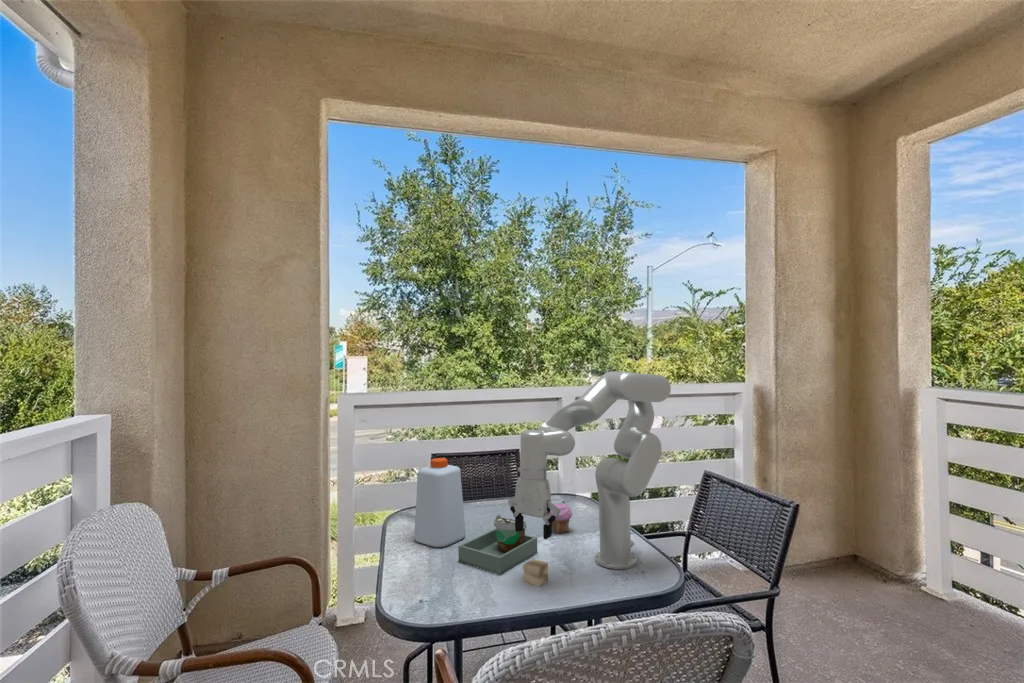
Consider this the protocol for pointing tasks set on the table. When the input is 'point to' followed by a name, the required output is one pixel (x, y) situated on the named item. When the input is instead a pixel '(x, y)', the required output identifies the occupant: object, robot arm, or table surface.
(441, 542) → the plastic bottle
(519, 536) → the food container
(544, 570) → the maple block
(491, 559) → the tote
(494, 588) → the table surface
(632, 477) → the robot arm
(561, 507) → the cupcake
